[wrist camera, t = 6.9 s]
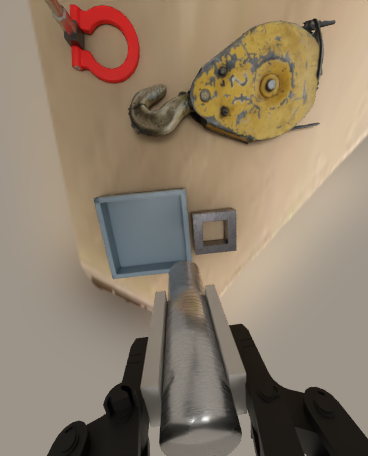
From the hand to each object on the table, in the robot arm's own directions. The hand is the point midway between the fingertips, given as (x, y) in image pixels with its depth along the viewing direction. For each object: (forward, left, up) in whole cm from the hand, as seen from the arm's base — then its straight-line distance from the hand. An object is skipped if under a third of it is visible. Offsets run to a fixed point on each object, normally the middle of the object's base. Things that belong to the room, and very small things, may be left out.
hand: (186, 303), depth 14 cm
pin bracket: (+1, +6, -20) cm, 21 cm away
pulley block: (-21, +9, -21) cm, 31 cm away
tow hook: (-28, -8, -21) cm, 36 cm away
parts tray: (0, -6, -20) cm, 21 cm away
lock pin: (0, 0, -4) cm, 4 cm away
